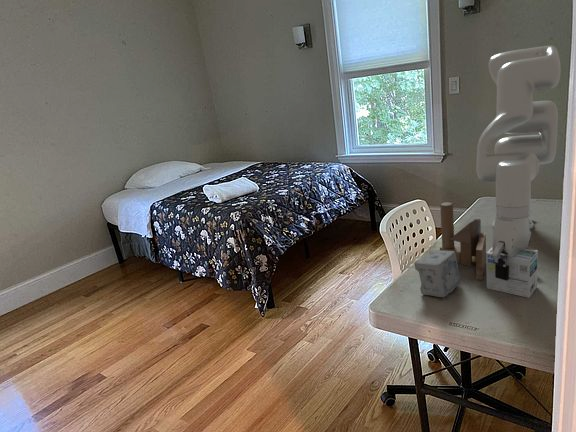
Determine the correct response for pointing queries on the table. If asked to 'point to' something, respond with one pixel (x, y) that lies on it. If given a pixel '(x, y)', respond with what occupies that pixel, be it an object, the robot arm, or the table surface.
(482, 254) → the door
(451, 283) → the incense holder
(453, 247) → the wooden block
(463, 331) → the table surface
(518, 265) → the light bulb box
